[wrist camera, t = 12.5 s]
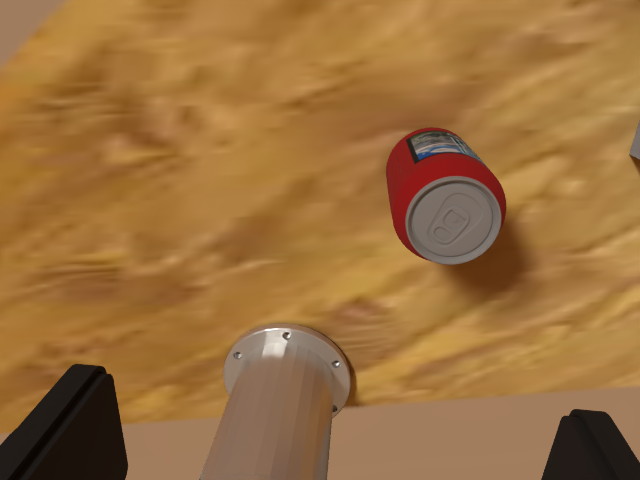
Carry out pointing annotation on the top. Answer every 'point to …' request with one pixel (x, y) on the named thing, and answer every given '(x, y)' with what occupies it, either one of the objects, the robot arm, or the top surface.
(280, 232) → the top surface
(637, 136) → the grey box
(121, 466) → the robot arm
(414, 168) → the beverage can
